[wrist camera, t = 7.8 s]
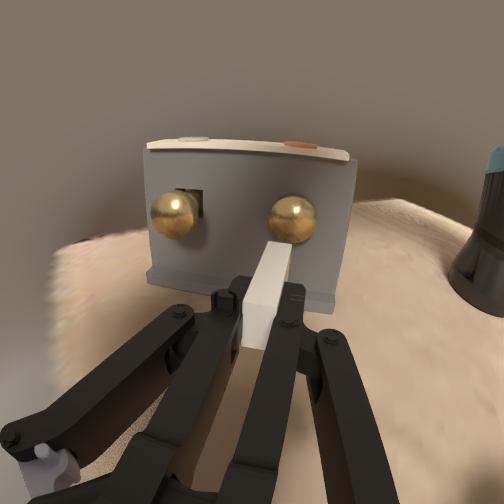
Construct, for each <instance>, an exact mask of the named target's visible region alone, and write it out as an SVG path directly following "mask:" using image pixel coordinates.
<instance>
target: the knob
mask: <svg viewBox="0 0 504 504" xmlns="http://www.w3.org/2000/svg"><path fill="white" fill-rule="evenodd" d="M198 211H203V190H198V189H185V192H183V191H180V190H171V191H168V192H166V193H165V194H163V195H161V196H159V197H158V198H156V199H155V201H154V202H153V204H152V206H151V210H150V216H151V221H152V223H153V225H154V227H155V229H156V230H157V231H158V232H159V233H160V234H161V235H163V236H165V237H167V238H171V239H178V238H181V237H183V236H185V235H186V234H187V233H188V232H189V231H190V230H191V229H192V228H193V227H194V226H195V225H196V223H197V220H198Z"/></svg>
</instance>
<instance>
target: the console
mask: <svg viewBox="0 0 504 504" xmlns="http://www.w3.org/2000/svg"><path fill="white" fill-rule="evenodd" d="M317 146H318V145H315V144H310V143H302V142H290V141H288V142H284V143H276V142H262V141H246V140H220V139H209V138H208V137H183V138H178V139H169V140H168V139H167V140H160V141H155V142H150V143H147V147H146V148H143V158H144V181H145V196H146V209H147V220H148V230H149V239H150V248H151V256H152V264H153V266H152V267H151V268H150V269H149V270H148V271H147V272H146V276H147V283H149V284H154V285H158V286H163V287H168V288H173V289H178V290H183V291H188V292H194V293H199V294H204V295H210V296H211V294H212V293H213V292H214V291H216V290H218V289H228V288H229V286H230V284H231V282H232V280H233V279H234V278H236V277H237V276H239V275H241V276H248V277H253V276H254V274H255V271H256V269H257V267H258V264H259V262H260V260H261V257H262V255H263V253H264V250H265V248H266V246H267V243H268V241H272V242H279V243H286V244H292V250H291V258H290V266H289V274H288V282H291V283H298V284H303V285H304V287H305V289H306V295H305V304H304V311H310V312H318V313H326V314H332V313H333V309H334V305H335V290H336V285H337V281H338V277H339V272H340V267H341V263H342V258H343V253H344V248H345V243H346V237H347V232H348V226H349V221H350V215H351V209H352V202H353V195H354V189H355V182H356V175H357V167H358V161H357V160H356V159H354V158H349V154H348V153H347V152H346V151H345V150H337V149H331V148H323V147H317ZM185 189H198V190H203V211H198V220H197V223H196V225H195V226H194V227H193V228H192V229H191V230H190V231H189V232H188V233H187V234H186V235H185V236H183V237H181V238H178V239H171V238H167V237H165V236H163V235H161V234H160V233H159V232H158V231H157V230H156V229H155V227H154V225H153V223H152V221H151V216H150V210H151V206H152V204H153V202H154V201H155V199H156V198H158V197H159V196H161V195H163V194H165V193H166V192H168V191H171V190H180V191H183V192H185ZM291 193H296V194H300V195H303V196H305V197H307V198H308V199H309V200H310V201H312V203H313V205H314V207H315V209H316V214H317V222H316V228H315V230H314V232H313V234H312V235H311V236H310V237H309V238H308V239H306V240H304V241H302V242H298V243H289V242H286V241H283V240H281V239H279V238H278V237H277V236H276V235H275V234H274V233H273V231H272V230H271V227H270V224H269V215H270V212H271V209H272V207H273V205H274V204H275V202H276V201H277V200H278V199H279V198H280V197H282V196H284V195H286V194H291Z"/></svg>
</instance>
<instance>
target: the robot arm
mask: <svg viewBox="0 0 504 504" xmlns="http://www.w3.org/2000/svg"><path fill="white" fill-rule="evenodd" d="M485 175H486V176H485V181H484V187H483V192H482V196H481V201H480V206H479V209H478V214H477V217H476V222H475V225H474V229H473V232H472V234H471V236H470V238H469V239H468V241H467V242H466V243H465V245H464V246H463V248H462V249H461V251H460V252H459V254H458V255H457V256H456V258H455V259H454V261H453V263H452V265H451V268H450V271H449V274H448V277H449V281H450V283H451V285H452V286H453V288H454V289H455V290H456V291H457V292H458V293H459V294H460V295H461V296H462V297H463V298H464V299H465V300H467V301H468V302H469V303H471V304H472V305H474V306H475V307H477V308H479V309H480V310H482V311H484V312H487V313H489V314H492V315H495V316H498V317H504V146H503V145H500V146H496V147H494V148H493V149H492V150H491V152H490V156H489V161H488V165H487V170H486V171H485ZM291 250H292V244H286V243H279V242H272V241H268V243H267V246H266V248H265V250H264V253H263V255H262V257H261V260H260V262H259V264H258V267H257V269H256V271H255V274H254V276H253V277H248V276H241V275H239V276H237V277H236V278H234V279H233V280H232V282H231V284H230V286H229V288H228V289H218V290H216V291H214V292H213V293H212V294H211V305H212V309H211V311H210V312H205V313H194V310H193V309H192V307H190V306H188V305H185V304H177V305H173V306H171V307H169V308H168V309H167V310H165V311H164V312H163V313H162V314H160V315H159V316H158V317H157V318H156V319H154V320H153V321H152V322H151V323H149V324H148V325H147V326H146V327H144V328H143V329H142V330H141V331H140V332H138V333H137V334H136V335H135V336H133V337H132V338H131V339H130V340H129V341H127V342H126V343H125V344H124V345H122V346H121V347H120V348H119V349H118V350H116V351H115V352H114V353H113V354H112V355H110V356H109V357H108V358H107V359H105V360H104V361H103V362H102V363H101V364H99V365H98V366H97V367H96V368H95V369H93V370H92V371H91V372H90V373H89V374H87V375H86V376H85V377H84V378H83V379H81V380H80V381H79V382H78V383H76V384H75V385H74V386H73V387H72V388H70V389H69V390H68V391H67V392H66V393H64V394H63V395H62V396H61V397H60V398H58V399H57V400H56V401H55V402H54V403H53V404H51V405H50V406H49V407H48V408H47V409H45V410H43V411H41V412H38V413H36V414H33V415H30V416H28V417H25V418H22V419H20V420H17V421H14V422H11V423H8V424H7V425H5V426H4V427H3V428H2V430H1V432H0V443H1V446H2V447H3V448H4V449H5V450H6V451H7V452H8V453H9V454H10V455H11V456H13V457H14V458H15V459H16V460H17V461H18V463H19V466H20V469H21V472H22V475H23V478H24V481H25V483H26V486H27V488H28V491H29V493H30V496H31V498H32V500H30V501H29V502H28V503H27V504H271V502H272V497H273V493H274V489H275V485H276V480H277V476H278V467H279V462H280V457H281V452H282V447H283V442H284V437H285V432H286V427H287V422H288V416H289V411H290V405H291V399H292V394H293V387H294V381H295V375H296V371H297V372H299V373H302V374H304V375H306V380H307V386H308V391H309V396H310V401H311V407H312V412H313V418H314V423H315V429H316V434H317V440H318V446H319V452H320V458H321V464H322V470H323V476H324V482H325V488H326V495H327V501H328V504H400V503H399V500H398V496H397V492H396V488H395V485H394V481H393V477H392V474H391V470H390V467H389V463H388V460H387V456H386V453H385V450H384V446H383V443H382V440H381V437H380V433H379V430H378V427H377V424H376V421H375V418H374V415H373V412H372V409H371V406H370V403H369V400H368V397H367V394H366V391H365V388H364V386H363V383H362V380H361V377H360V374H359V372H358V369H357V366H356V363H355V361H354V358H353V355H352V353H351V350H350V347H349V345H348V342H347V339H346V337H345V336H344V334H342V333H341V332H340V331H337V330H335V329H323V330H321V331H320V332H319V333H317V332H314V331H312V330H310V329H309V328H307V327H306V326H305V325H304V323H303V312H304V304H305V295H306V289H305V287H304V285H303V284H298V283H291V282H288V274H289V266H290V258H291ZM240 342H241V346H244V347H249V348H254V349H260V350H265V352H264V356H263V359H262V363H261V367H260V370H259V374H258V377H257V381H256V384H255V388H254V391H253V394H252V398H251V401H250V405H249V408H248V411H247V415H246V418H245V421H244V424H243V428H242V431H241V434H240V437H239V440H238V444H237V447H236V450H235V453H234V456H233V459H232V460H231V462H230V463H229V465H228V468H227V470H226V473H225V476H224V479H223V482H222V485H221V488H220V491H219V493H216V492H200V491H194V490H192V489H190V488H191V485H192V481H193V474H194V470H195V467H196V464H197V462H198V459H199V457H200V454H201V452H202V449H203V447H204V444H205V441H206V439H207V436H208V434H209V431H210V429H211V426H212V423H213V421H214V418H215V415H216V413H217V410H218V408H219V405H220V402H221V400H222V397H223V394H224V392H225V389H226V386H227V384H228V381H229V378H230V376H231V373H232V370H233V367H234V365H235V362H236V359H237V356H238V354H239V344H240ZM168 386H169V387H168ZM167 387H168V389H167V391H166V393H165V394H164V396H163V398H162V400H161V402H160V404H159V405H158V407H157V409H156V411H155V413H154V415H153V416H152V418H151V420H150V422H149V424H148V426H147V427H146V429H145V430H144V431H143V432H137V433H136V434H135V435H134V436H133V437H132V439H131V440H130V442H129V444H128V446H127V447H126V449H125V451H124V453H123V455H122V456H121V458H120V460H119V462H118V464H117V465H116V467H115V469H114V471H113V472H110V473H108V474H105V475H103V476H100V477H98V478H95V479H92V480H89V481H87V482H84V483H81V484H78V485H75V486H72V487H70V485H72V484H73V483H78V482H79V481H80V480H81V476H80V469H82V468H84V467H86V466H87V465H89V464H90V463H92V462H93V461H95V460H96V459H97V458H98V457H99V456H100V455H102V454H103V453H104V452H105V451H106V450H107V449H108V448H109V447H110V446H111V445H112V444H113V443H114V442H115V441H116V440H117V439H118V438H119V437H120V436H121V435H122V434H123V433H124V432H125V431H126V430H127V429H128V428H129V427H130V426H131V425H132V424H133V423H134V422H135V421H136V420H137V419H138V418H139V416H140V415H141V414H142V413H143V412H144V411H145V410H146V409H147V408H148V407H149V406H150V405H151V404H152V403H153V402H154V401H155V400H156V399H157V398H158V397H159V396H160V395H161V394H162V393H163V392H164V391H165V389H166V388H167Z"/></svg>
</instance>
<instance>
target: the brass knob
mask: <svg viewBox="0 0 504 504" xmlns="http://www.w3.org/2000/svg"><path fill="white" fill-rule="evenodd" d="M316 222H317V214H316V209H315V207H314V205H313V203H312V201H310V200H309V199H308V198H307V197H305V196H303V195H300V194H296V193H291V194H286V195H284V196H282V197H280V198H279V199H278V200H277V201H276V202H275V204H274V205H273V207H272V209H271V212H270V215H269V224H270V227H271V230H272V231H273V233H274V234H275V235H276V236H277V237H278V238H279V239H281V240H283V241H286V242H289V243H298V242H302V241H304V240H306V239H308V238H309V237H310V236H311V235H312V234H313V232H314V230H315V228H316Z"/></svg>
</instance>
